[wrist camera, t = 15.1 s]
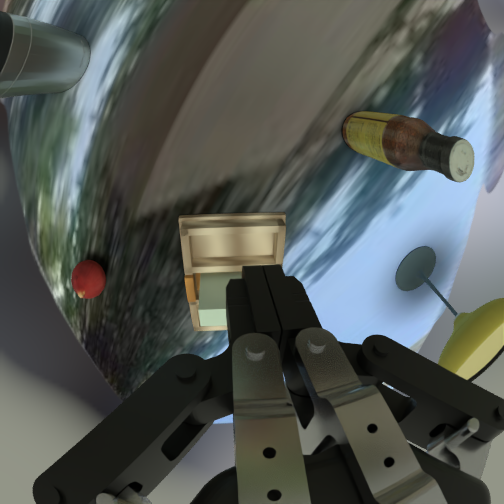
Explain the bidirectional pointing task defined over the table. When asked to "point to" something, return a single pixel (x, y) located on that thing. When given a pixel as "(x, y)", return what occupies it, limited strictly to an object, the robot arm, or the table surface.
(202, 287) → the block
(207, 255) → the rack
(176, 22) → the table surface
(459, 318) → the cocktail glass
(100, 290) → the onion
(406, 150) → the sauce bottle
